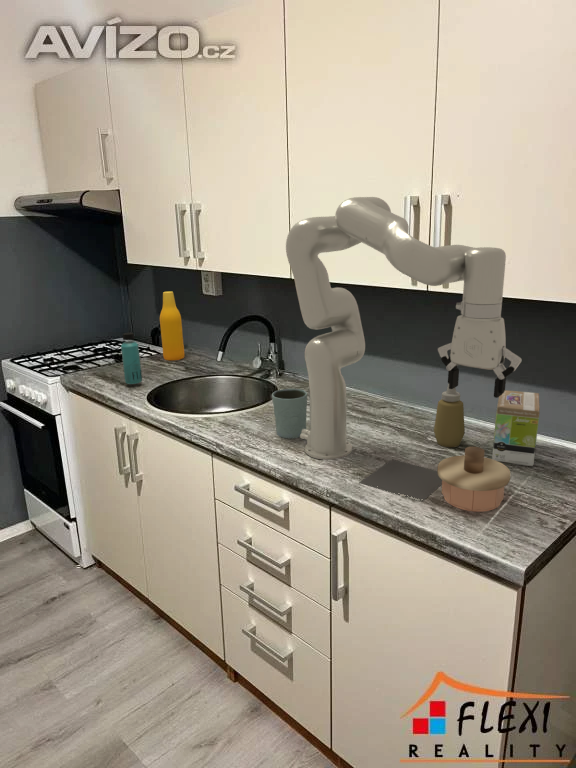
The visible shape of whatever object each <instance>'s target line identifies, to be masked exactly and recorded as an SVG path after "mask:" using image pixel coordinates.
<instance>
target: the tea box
mask: <svg viewBox="0 0 576 768" xmlns="http://www.w3.org/2000/svg"><path fill="white" fill-rule="evenodd" d="M495 412H496V414H495V421H494V422H495V423H494V432H493V433H494V435H493V444H492V445H493V447H492V457H491V459H493V460H496V461H498V462H501V463H502V462H504V463H510V464H513V465H519V466H529V467H533V466H534V463H535V457H536V456H535V455H536V447H537V439H538V430H539V429H538V428H539V420H540V413H541V412H540V393H539V392H538V393H537V392H528V391H516V390H506V389H505V392H504V393H503V394H502V395H501V396H499V397H498V398H497V405H496V411H495Z"/></svg>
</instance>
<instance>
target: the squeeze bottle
mask: <svg viewBox="0 0 576 768" xmlns="http://www.w3.org/2000/svg"><path fill="white" fill-rule="evenodd" d="M464 409H465V408H464V402H463V401H462V400H461V392H458V391H457V390H456V387H455V388H453V389H449V384H447V387H446V391H443V392H442V393H441V399H439V401H438V402H437V408H436V413H435V421H434V426H433V427H434V428H433V434H434V436H435V439H436V442H437V443H436V444H437V445H438V446H440V447H444V448H450V449H451V448H457V447H459V446H460V445H461V443H462V440H463V438H464V436H465V434H466V431H465V413H464V412H465V411H464Z"/></svg>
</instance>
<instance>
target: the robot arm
mask: <svg viewBox="0 0 576 768" xmlns="http://www.w3.org/2000/svg"><path fill="white" fill-rule="evenodd" d="M409 230H410V228H409V223H408V221H407V219H405V218H404V217H402V216H400V215H397V214H396V213H394V212H392V211H391V208H390V206H389V204H388V203H387V202H386V201H385V200H384V199H382V198H380V197H376V196H358V197H357V196H356V197H350V198H347V199H345V200H344V201H342V202H341V203H340V204H339V205H338V207H337V208H336V211H335V213H334V215H331V216H330V215H329V216H313V217H307V218H304V219H301V220H299V221H297V223H295V224H294V225H293V226H292V227H291V228H290V230H289V232H288V234H287V237H286V240H285V252H286V257H287V261H288V264H289V267H290V270H291V274H292V275H293V279H294V284H295V285H294V286H295V289H296V295H297V299H298V303H299V309H300V312H301V316H302V320H303V322H304V324H305V326H306V327H307V328H309V329H311V330H316V331H317V330H322V329H328V328H331V331H330V332H326V333H322V334H319V335H316V336H314V337H313V338H312V339H310V340H309V341H308V343H307V344H306V345H305V350H304V361H305V365H306V370H307V376H308V391H309V393H308V395H309V396H308V397H309V428H310V429H308V428H306V429H303V430H302V433H301V434H300V437H299V438H300V439H303V440H306V442H307V443H306V444H305V446H304V452H305V453H306V455H307V456H309V457H311V458H314V459H316V460H317V459H318V460H336V459H340V458H345V457H346V456H347V457H348V456H349V455H351V454H352V452H353V445H352V444H351V443H350V442H349V441H347V385H346V381H345V378H344V376H343V374H342V372H341V371H342V370H341V369H342V368H345V367H347V366H350V365H354V364H355V363H357V362H359V361H360V360H362V358H363V357H364V354H365V351H366V341H365V340H366V339H365V336H364V335H365V334H364V329H363V326H362V320H361V314H360V310H359V305H358V303H357V300H356V298H355V296H354V295H353V294H352V292H351V291H349V290H347V289H346V288H343V287H331V281H330V278H329V273H328V271H327V268H326V266H325V263H324V262H323V261H322V259H320V257H319V255H320V254H322V253H332V252H339V251H343V250H344V251H345V250H347V249H350V248H352V247H354V246H356V245H359V244H360V243H363V244H364V245H366V246H368V247H369V248H371V249H372V248H373V249H374V250H376V251H377V252H379V253H381V254H383V255H384V256H385V258H386V259H387V261H388V262H389V263H390V264H391V266H392V267H393V268H394V269H396V271H399V273H402V274H404V275H406V276H407V277H409V278H411V279H413V280H415V281H416V282H418V283H421V284H423V285H426V286H430V287H437V286H443V285H446V284H451V283H457V282H462V281H463V287H462V288H463V290H462V291H463V293H462V301H461V302H456V305H455V309H456V310H459V311H460V315H458V316H457V317H456V320H455V325H454V329H453V332H452V333H453V334H452V339H451V342H450V343H446V344H444V345H442V346H440V347H437V352H438V354H439V357H440V358H441V359H440V360H441V362H442V363H443V365H445V367H446V370H447V371H448V373H447V383H448V384H449V389H453V388H456V387H459V379H460V378H459V377H460V376H459V375H460V368H459V367H458V366H463V367H468V368H475V369H482V370H489V371H490V370H491V371H492V370H493V373H494V374H495V375H496V376H497V377H496V378H494V379H495V380H494V386H493V387H494V388H493V397H494V398H495V399H499V396H501V395H502V394H503V393H504V392H505V390H506V386H507V385H506V383H507V377H508V376H510V375H511V374H512V373H514V372H516V370H517V368H518V367H519V365H520V364H521V363H522V358H521V357H520V356H519V355H517V354H515V353H514V352H512V351H511V350H510V349H508V348H507V347H506V340H507V339H506V337H507V336H506V327H505V325H506V324H505V319H504V318H503V317H502V309H503V308H502V306H503V295H504V294H503V293H504V284H505V283H504V282H505V273H506V272H505V271H506V260H507V259H506V258H507V256H506V252H505V251H504V250H503V249H502V248H499V247H490V246H489V247H487V246H486V247H485V246H484V247H483V246H482V247H474V246H468V245H463V244H451V245H450V244H449V245H443V246H442V245H441V246H432V245H430V244H427V243H425V242H423V241H421V240H419V239H417V238H415V237H414V236H412V235H411V234H409ZM448 351H450V352H449V353H450V354H449V355H448ZM505 358H506V359H507V360H509V361H510V365H509V366H508V367H507V368H506V367H505V365H504V364H505V360H506V359H505ZM448 384H447V385H448Z"/></svg>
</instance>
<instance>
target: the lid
mask: <svg viewBox="0 0 576 768" xmlns="http://www.w3.org/2000/svg"><path fill="white" fill-rule="evenodd" d="M485 452H486V451H485V449H483V448H482V447H479V446H467V447H465V449H464V454H463V455H453V456H450V457H449V456H448V457H447V458H443V459H442V460H440V462H439V463H437V470H436V471H437V472H438V476H439V477H440V478H441V479H442V480H443V481H444V482H446V483H448V484H450V485H452V486H455V487H458V488H462V489H467V490H474V491H489V490H496V489H500V488H502V487H504V486H505V487H506V486H507V485H508V484H509V483H510V481H511V471H510V469H509V467H508V466H506V465H505V464H504V463H502V462H501V461H496V460H493V459H492V458H488V457H486V456H485ZM505 487H504V488H505Z"/></svg>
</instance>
